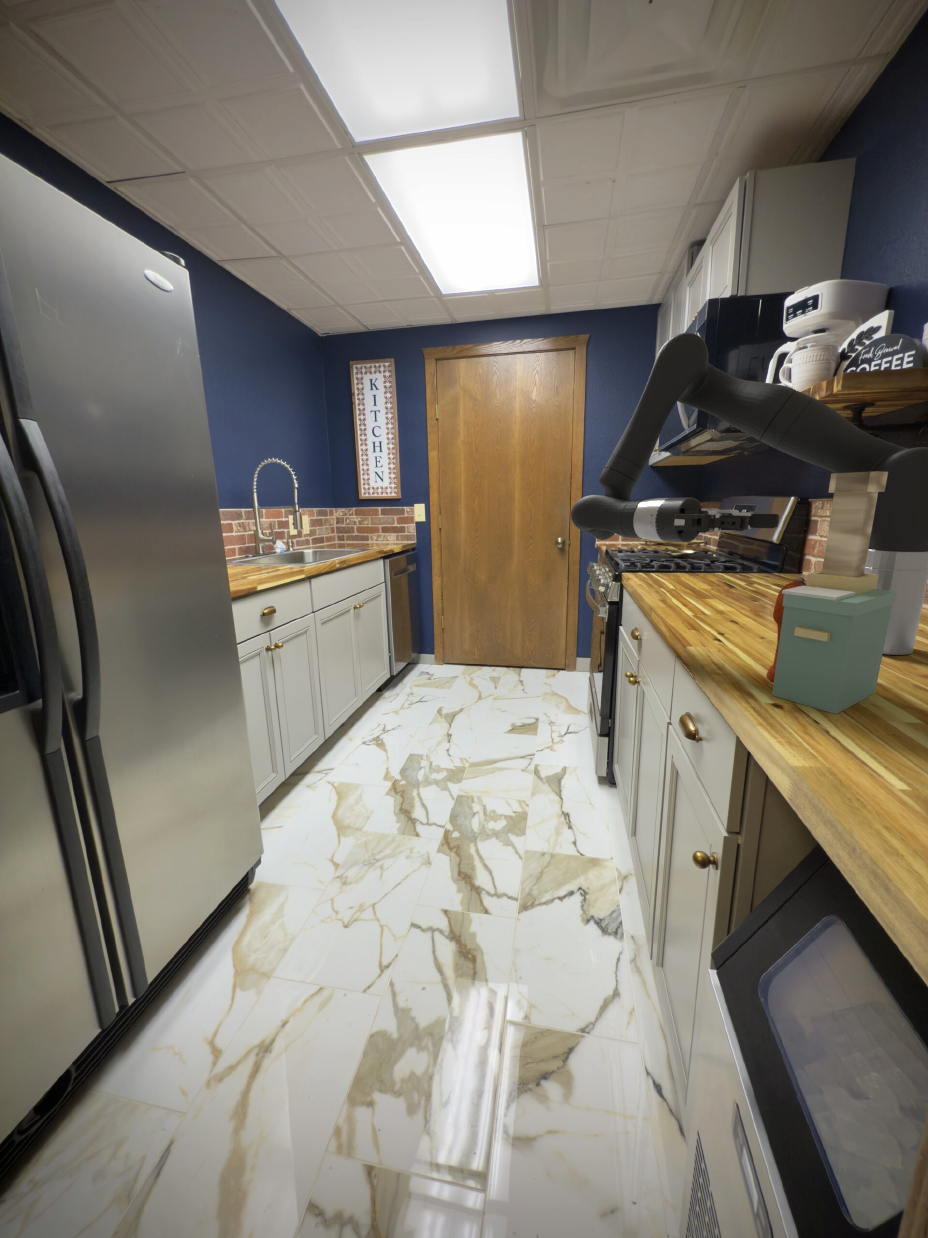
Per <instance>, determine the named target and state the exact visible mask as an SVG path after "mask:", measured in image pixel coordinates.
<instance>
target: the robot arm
mask: <svg viewBox="0 0 928 1238" xmlns="http://www.w3.org/2000/svg"><path fill="white" fill-rule="evenodd" d="M677 402H678V403H681V404H684V405H686V406H689V407H692V408H694V409H697V410H700V411H703V412H705V413H706V414H707V413H708V414H710V415H712V416H714V417H716V418H718V419H719V420H722V421H723V422H725V423H726V424H728V425H730V426H732V427H733V428H736V429H738V430H740V431H742V432H743V433H745V434H747V435H749V436H750V437H753V438H754V439H756V440H757V441H760V442H762V443H763V444H766V445H767V446H769V447H772V448H773V449H776V450H778V451H780V452H782V453H784V454H787V455H789V456H791V457H794V458H796V459H799V460H801V461H804V462H806V463H809V464H812V465H814V466H817V467H819V468H820V467H821V468H823V469H826V470H827V471H831V472H832V473H833V474H834V473H854V472H875V471H880V472H888V475H887V481H886V486H885V492H878V496H877V502H876V507H875V513H874V519H873V524H872V530H871V536H870V542H869V547H868V553H867V559H866V565H865V570H864V573H869V574H879V575H878V580H877V586H876V589H878V590H887V591H895V592H896V596H895V601H894V604H892V607H891V612H890V618H889V623H888V628H887V633H886V638H885V644H884V649H883V654H882V655H893V656H894V655H896V656H899V655H900V656H903V655H904V656H906V655H911V654H912V653H914V648H915V644H916V639H917V634H918V630H919V625H920V621H921V614H922V611H923V607H924V600H925V596H926V592H927V585H928V447H923V446H921V447H912V448H911V447H910V448H908V447H904V446H901V445H899V444H898V445H897V444H894V443H893V442H889V441H887V440H885V439H881V438H879V437H876V436H874V435H872V434H869V433H867V432H865V431H864V430H862V429H860V428H859V427H857V426H856V424H855V425H854V424H853V423H852V422H851V421H849V420H848V419H847V418H845V417H844V416H843V415H841V414H840V413H838V412H837V411H836V410H834V409H833V408H831V407H830V406H829V405H827V404H826V403H823V402H822V401H820V400H819V399H817V398H814V397H812V396H810V395H808V394H806V393H804V392H801V391H799V390H796V389H795V388H792V387H789V386H787V385H783V384H777V383H772V382H771V383H770V382H765V381H764V382H763V381H754V380H746V379H742V378H741V379H740V378H738V377H735V376H733V375H730V374H728V373H726V372H725V371H723V370H720V368H717V367H716V366H714V365H712V364H711V363H709V350H708V346H707V344H706V341H705V340H704V339H703V337H702V336H700V335H699V334H697V333H693V332H683V333H679V334H676V335H674V336H672V337H670V338H669V339H668V340H666V341H665V343H663V345H662V346H661V348H660V349H659V351H658V353H657V356H656V358H655V361H654V364H653V367H652V368H651V371H650V374H649V377H648V380H647V382H646V384H645V388H644V390H643V392H642V395H641V396H640V399H639V401H638V404H637V406H636V408H635V410H634V412H633V414H632V417H631V418H630V419H629V422H628V424H627V426H626V427H625V429H624V432H623V433H622V435H621V436H620V438H619V440H618V443H617V444H616V446H615V448H614V449H613V451H612V453H611V455H610V456H609V459H608V460H607V461H606V464H605V466H604V468H603V470H602V472H601V473H600V475H599V478H598V482H599V484H600V485H601V487H602V489H603V490H604V495H598V494H591V495H586V496H583V497H582V498H580V499H579V500H577V501H576V502H575V503H574V504H573V506H572V507H571V510H570V519H571V522H572V524H573V525H574V526H575V527H576V528H577V529H578V530H580V531H582V532H584V533H585V534H587V535H588V536H591V537H592V538H594V539H596V540H598V541H599V540H600V541H606V540H609V539H610V538H612V537H613V536H614V535H618V536H620V537H623V538H629V539H631V538H632V539H642V540H643V539H645V540H649V541H652V542H653V541H656V542H668V543H669V542H670V543H681V544H682V543H685V544H686V543H692V542H693V541H694V540H695V539H696V538H697V537H698V536H699V534H701V535H702V534H714V533H717V532H745V531H748V530H751V529H777V528H778V527H779V523H780V522H779V521H780V515H779V514H778V513H758V512H756V511H749V512H745V511H743V512H741V511H739V509H720V508H716V507H715V508H713V507H712V508H703V506H702V504H701V502H700V501H699V500H698V499H697V498H694V497H656V498H649V499H631V496H632V491H633V490H634V488H635V485H636V484H637V482H638V481H639V479H640V477H641V475H642V474H643V472H644V470H645V468H646V467H647V465H648V463H649V461H650V459H651V456H652V454H653V452H654V450H655V447H656V445H657V442H658V440H659V438H660V435H661V432H662V430H663V428H664V426H665V424H666V421H667V420H668V418H669V416H670V414H671V412H672V410H673V409H674V407H675V406H676V404H677Z"/></svg>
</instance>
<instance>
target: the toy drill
mask: <svg viewBox="0 0 928 1238" xmlns="http://www.w3.org/2000/svg"><path fill="white" fill-rule="evenodd" d="M805 580H806V579H805V578H804V577H802V576H801V577H799V578H798V579H797V580H795V581H792V582H789V583H786V584H785V585H784V586H782V587H781V588H780V590H779V592H778V595H777V597H776V600H775V604H774V609H773V612H772V618H773V621H774V622H775V624H776V625H777V636H776V637H777V638H776V639H777V642H776V648H775V653H774V659H773V664H772V665H771V666H770V667H769V669H768V671H767V672H766V680H767V681H769V682H771V683H773V684H774V676H775V669H776V662H777V655H778V648H779V640H780V633H781V626H782V619H783V611H784V606H782V605H783V598H784V594H783V593H782V590H786V589H790V588H795V587H799V586H806V582H805Z"/></svg>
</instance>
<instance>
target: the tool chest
mask: <svg viewBox="0 0 928 1238" xmlns="http://www.w3.org/2000/svg"><path fill="white" fill-rule="evenodd" d="M878 575H879V574H869V573H864V576H860V577H856V578H855V577H845V576H835V575H824V574H822V570H820V571H813V572H808V573H807V575H806V582H805V584H806V586H799V587H795V588H790V589H786V590H782V593H783V594H784V598H783V605H782V606H784V611H783V619H782V626H781V633H780V640H779V648H778V655H777V662H776V669H775V676H774V683H773V685H772V691H771V692H772V693H771V696H774V697H777V698H780V699H783V700H787V701H790V702H794V703H798V704H801V705H804V706H807V707H811V708H814V709H816V710H820V711H824V712H828V713H831V714H834V715H838V714H839V713H841V712H842V711H845V710H846V709H847V710H848V708H851V707H852V706H854V705H856V704H858V703H860V702H861V701H863V700H865V699H866V698H868V697H871V696H872V695H874V694H876V690H877V685H878V680H879V676H880V668H881V664H882V658H883V655H884V654H883V649H884V644H885V638H886V633H887V628H888V623H889V618H890V612H891V607H892V604H894V601H895V596H896V592H895V591H887V590H878V589H876V586H877V580H878Z"/></svg>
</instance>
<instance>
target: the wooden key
mask: <svg viewBox="0 0 928 1238" xmlns="http://www.w3.org/2000/svg"><path fill="white" fill-rule="evenodd" d="M887 475H888V472H880V471H875V472H854V473H834V472H833V473H830V481H829V486H828V494H829V493H831V494H832V493H833V496H832V497H833V499H832V503H831V504H832V505H831V509H830V510H831V512H830V517H829V524H828V529H827V530H828V532H827V535H826V536H827V538H826V543H825V551H824V557H823V563H822V570H821V571H822V574H824V575H835V576H845V577H855V578H856V577H860V576H864V570H865V565H866V559H867V553H868V547H869V542H870V536H871V530H872V524H873V519H874V513H875V507H876V502H877V496H878V492H885V486H886V481H887Z"/></svg>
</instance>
